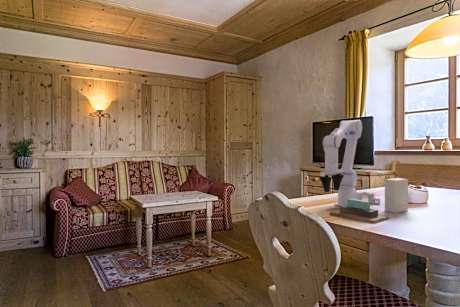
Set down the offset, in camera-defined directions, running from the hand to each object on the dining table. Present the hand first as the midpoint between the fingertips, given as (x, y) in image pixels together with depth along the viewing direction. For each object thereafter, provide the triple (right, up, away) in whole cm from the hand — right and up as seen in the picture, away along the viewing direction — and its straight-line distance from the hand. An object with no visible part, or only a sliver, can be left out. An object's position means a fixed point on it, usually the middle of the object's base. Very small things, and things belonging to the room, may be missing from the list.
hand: (331, 190), depth 144 cm
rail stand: (+8, -10, -11) cm, 17 cm away
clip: (+8, -9, -11) cm, 16 cm away
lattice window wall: (+25, -9, +18) cm, 32 cm away
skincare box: (+29, -9, -1) cm, 31 cm away
